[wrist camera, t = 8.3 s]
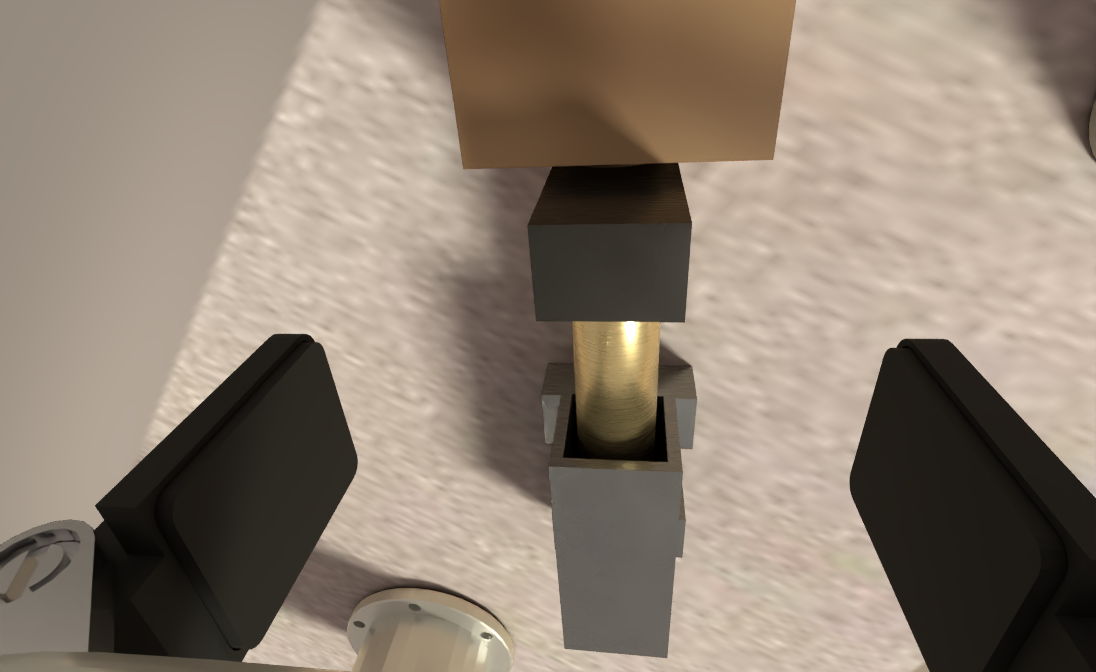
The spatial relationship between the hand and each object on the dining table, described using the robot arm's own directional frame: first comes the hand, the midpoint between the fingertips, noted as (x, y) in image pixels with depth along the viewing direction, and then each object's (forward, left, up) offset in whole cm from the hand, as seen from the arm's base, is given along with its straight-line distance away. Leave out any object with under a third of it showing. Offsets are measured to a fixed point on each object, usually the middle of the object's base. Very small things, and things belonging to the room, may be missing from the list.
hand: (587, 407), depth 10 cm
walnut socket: (+4, 0, -15) cm, 16 cm away
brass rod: (-3, 0, -12) cm, 12 cm away
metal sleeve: (-15, 0, -15) cm, 22 cm away
